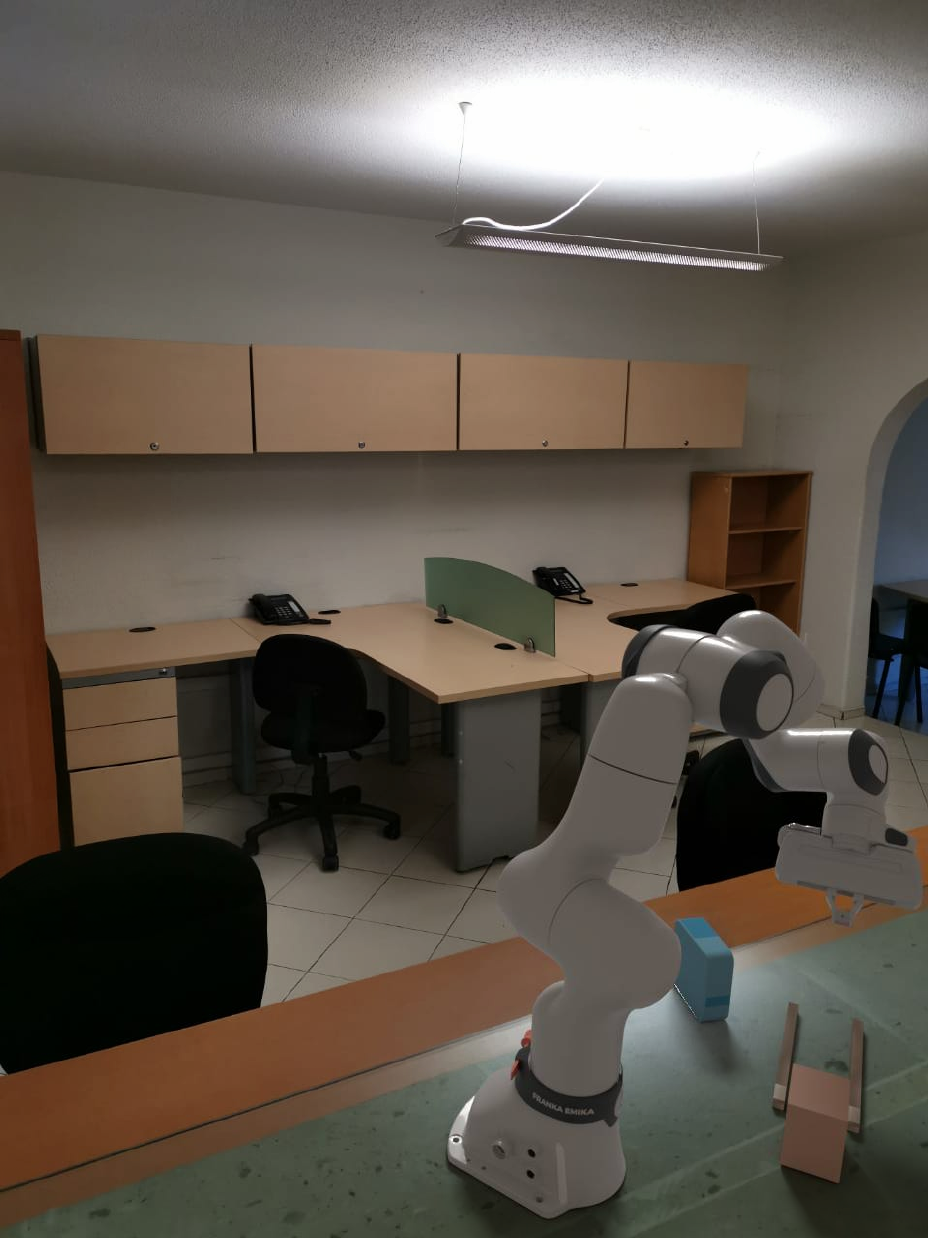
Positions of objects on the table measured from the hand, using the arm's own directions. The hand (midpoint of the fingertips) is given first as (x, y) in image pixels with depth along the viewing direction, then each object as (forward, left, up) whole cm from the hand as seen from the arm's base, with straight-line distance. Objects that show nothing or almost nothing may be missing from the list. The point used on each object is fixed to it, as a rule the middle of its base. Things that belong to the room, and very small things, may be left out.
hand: (841, 924), depth 135 cm
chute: (0, -5, -21) cm, 21 cm away
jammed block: (0, -22, -21) cm, 30 cm away
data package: (-19, +3, -21) cm, 29 cm away
